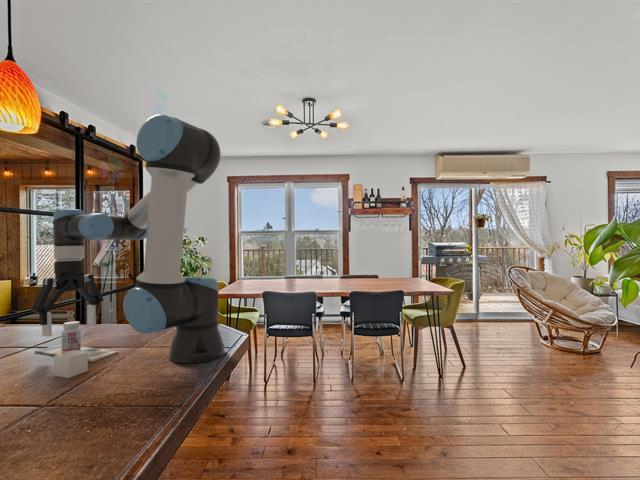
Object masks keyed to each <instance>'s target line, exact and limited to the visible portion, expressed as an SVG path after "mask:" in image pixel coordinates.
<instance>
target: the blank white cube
mask: <svg viewBox="0 0 640 480" xmlns="http://www.w3.org/2000/svg"><path fill="white" fill-rule="evenodd" d="M88 362H89V361H88V352H84V351H77V350H72V351H69V352H66V353H62V354H59V355H55V356H53V372H54V373H53V376H55V377H61V378H67V379H69V378H72V377H75V376H78V375H80V374H83V373H86V372H88V371H89V370H88V365H89V363H88Z"/></svg>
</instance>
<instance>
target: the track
mask: <svg viewBox="0 0 640 480" xmlns="http://www.w3.org/2000/svg"><path fill="white" fill-rule="evenodd" d="M78 351H84V352H88V362H96V361H99V360H100V361H101V360H102V359H106V358H108V357H110V356H115V355H116V354H119V351H118V350H111V349H106V348H105V349H103V348H97V347H90V346H82V345H81V349H80V350H78ZM38 353H39V355H45V356H46V355H47V356H53V357H54V356H55V355H59V354H62V353H66V352H62V343H60V344H55V345H53V346H49V347H48V346H47V347H45V348H41V349H37V350H34V354H38Z"/></svg>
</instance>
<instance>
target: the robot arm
mask: <svg viewBox="0 0 640 480" xmlns="http://www.w3.org/2000/svg"><path fill="white" fill-rule="evenodd" d="M136 136H137V137H136V149H137V152H138V154H139V156H140V157H141V158H142V159H144V160H145V170H146V172H147V173H148V174H149V175H150V177H151V179H150V181H151V182H150V190H149V191H148V192H147V193H146V194H145V195H144V196H143V197H142V198H141V199H140V200H139V201H138V202H137V203H136V204H135V205H134V206H133V207H132V208H131V209H130V210H129V211H128V212H126V213H125V214H124V215H111V214H110V215H109V214H108V215H107V214H105V213H101V212H100V213H99V212H97V213H96V212H91V213H88V214H87V213H85V214H84V212H83V210H81V209H75V208H60V209H59V208H58V209H55V210H54V212H53V220H52V226H53V227H52V228H53V230H52V231H53V259H54V260H56V261H55V262H54V263H53V271H54V273H53V274H55V276H54V278H53V277H45V278H43V280H42V287H41V288H40V290H39V292H38V294H37V297H36V299H35V301H34V302H33V305H32V306H31V309H30V311H31V313H35V314H36V313H37V314H38V315H39V316H38V319H39V322H38V323H39V325H40V326H41V331H42V333H41V335H42V336H41V337H51V336H53V335H52V331H53V330H52V329H53V328H52V327H53V326H52V312H49V311H50V310H51V309H52V308H53V306H54V305H55V303H56V302H57V301H58V300H59V298H60V297H61V295H62V294H64V293H65V292H66V293H67V292H71V291H76V292H78V293H79V294H80V295H81V296H82V297H83V299H85V300H86V301H87V302H88V305H87V306H86V309H87V310H86V314H87V315H86V316H87V317H86V318H87V325H86V326H92V327H94V326H95V327H96V325H97V318H96V317H97V316H96V315H97V314H98V305H99V306H100V304H101V303H102V302H104V298H103V295H102V293H101V292H100V290H99V288H98V285H97V284H96V282H95V279H94V276H95V275H94V274H91V273H89V274H86V273H85V274H84V272H85V261H84V260H83V259H85V241H87V240H94V241H96V240H97V241H98V240H102V241H103V240H105V241H106V240H108V241H109V240H110V241H111V240H112V241H113V240H114V241H115V240H118V241H119V240H121V241H123V240H125V241H139V240H140V241H141V240H144V239H146V241H145V253H144V265H143V271H142V272H141V273H140V274H138V276H136V279H135V287H133V288H131V289H129V290H127V292H126V294H125V295H124V298H123V300H122V301H123V302H122V309H123V314H124V317H125V319H126V321H127V322H128V323H129V325H130V327H131V328H132V329H133V330H135V331H136V332H138V333H141V334H150V333H151V334H152V333H158V332H163V331H164V330H167V329H171V328H176V329H175V334H174V337H173V340H172V342H171V347H170V349H169V360H170V361H172V362H174V363H178V364H188V365H189V364H199V363H207V362H211V361H215V360H217V359H219V358H221V357H223V356H224V354H225V345H224V343H223V339H222V336H221V332H220V330H219V291H220V290H219V287H218V286H219V284H218V283H219V282H218V280H217V279H215V278H213V277H194V276H192V277H191V276H183V274H182V273H181V263H182V254H183V242H184V241H183V240H184V230H185V219H186V218H185V217H186V208H187V196H188V192H190V190H192V189H193V188H194V187H195V186H196V185H197V184H199V185H202V184H204V183H205V182H206V181H207V180H208V179H210V177H211V176H212V175H213V174H214V173H215V172H216V170H217V169H218V167H219V163H220V161H221V147H220V145H219V142H218V140H217V139H216V137H215V136H214V135H213V134H212V133H211V132H209V131H207V130H205V129H203V128H201V127H198V126H195V125H193V124H190V123H187V122H185V121H183V120H181V119H179V118H178V117H173V116H169V115H166V114H155V115H153V116H150V117H149V118H148V119H146V121H145V122H144V123H143V124H142V125H141V127H140V129H138V133H137V135H136ZM84 282H85V284H86V285H85V284H84ZM55 285H56V286H55ZM53 286H54V287H53ZM87 288H88V289H87ZM51 291H52V292H51Z"/></svg>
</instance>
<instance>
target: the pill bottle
mask: <svg viewBox="0 0 640 480" xmlns="http://www.w3.org/2000/svg"><path fill="white" fill-rule="evenodd" d="M80 325H81V324H80V321H78V320H77V321H76V320H74V321H67V322H66V321H65V322H64V323H63V327H62V328H63V329H62V330H61V344H62V352H69V351H72V350H77V351H78V350H80V349H81V346H82V344H81V343H82V332H81V331H82V330H81V329H82V328H81V327H80Z"/></svg>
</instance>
